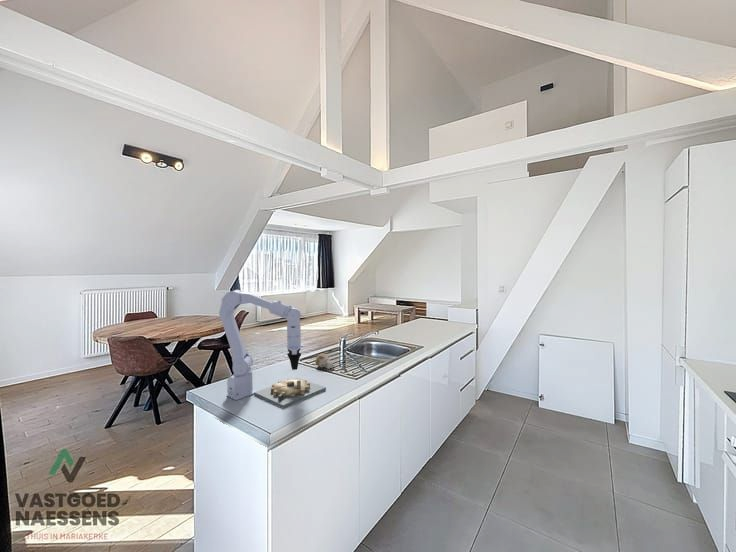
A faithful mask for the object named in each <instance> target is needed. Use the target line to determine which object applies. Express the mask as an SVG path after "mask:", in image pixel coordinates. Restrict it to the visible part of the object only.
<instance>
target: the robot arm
mask: <svg viewBox="0 0 736 552" xmlns="http://www.w3.org/2000/svg"><path fill="white" fill-rule="evenodd" d="M245 304H252V305H255V306H258V307H261V308H263V309H267V310H268V311H269V314H272V315H274V316H276V317H280V318H283V319H286V320H287V322H286V324H287V325H286V343H287V344H286V345H287V346H286V348H287V357H288V359H289V362H290V366H291V367H290V368H291V370H292V371H295V370H296V371H297V370H298V367H299V362H300V358H301V356H302V352H300V351H301V348H304V347H305V346H304V344H302V340H301V339H302V336H301V334H302V332H301V331H302V329H301V326H302V325H301V316H302V315H301V313H302V312H301V310H300V309H299V308H298V307H296V306H293V305H292V304H290V305H288V304H286V303H283V302H282V300H273V301H269V300H267V299H265V298H262V297H260V296H258V295H255V294H253V293H250V292H247V291H242V290H241V289H235V290H231V291H228V292H226V293H225V294H224V296H223V297H222V298H221V304H220V308H219V312H218V314H219V315H218V316H219V318H220V320H221V323H222V326H223V330H224V333H225V336H226V339H227V342H228V344H229V348H230V351H231V354H232V357H231V361H232V372H233V374H232V375H230V376H229V377H228V378H227V382H226V384H227V385H226V386H227V387H226V389H227V394H226V396H227V397H229V398H231V399H232V400H233V399H234V400H235V401H237V400H240V399H244V398H246V397H249V396H252V395H254V392H257V391H258V390H254V389H253V388H254V386H253V369H252V368H251V367H252V366H253V364H254V363H253V362H254V359H253V356H251V355H250V354H249V352H248V350H247V349H246V348H245V345H244V342H243V338H242V335H241V333H240V329H239V326H238V324H237V321H236V317H235V312H236V310H237V308H238V307H239V306H241V305H245Z"/></svg>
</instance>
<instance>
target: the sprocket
mask: <svg viewBox="0 0 736 552" xmlns="http://www.w3.org/2000/svg"><path fill="white" fill-rule="evenodd" d="M299 379H300V378H299ZM299 379H295V380H291V379H290V378H288V379H286V380H279V381H277V383H273V384H271V386H272V388H271V393H273V395H275V396H276V395H280V394H283V397H285V396H291V397H293V396H295V395H297V394H304V392H305V391H309V387H310V382H311V381H308V380H307V379H302V380H299ZM307 381H308V382H307Z"/></svg>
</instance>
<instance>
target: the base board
mask: <svg viewBox="0 0 736 552" xmlns="http://www.w3.org/2000/svg"><path fill="white" fill-rule="evenodd" d="M295 379H299V380H303V379H302V378H299V377H295V378H292V379H290V380H295ZM307 382H310V387H309V391H305V392H304V394H297V395H295V396H293V397H291V396H285V397H283V394H280V395H276V396H275V395H273V393H271V388H272V385H271V386H269V387H266V388H262V389H260V390H256V391H257V392H254V394H253V395H254V396H255V397H258V398H259V399H262V400H264V401H265V402H268V403H271V404H273V405H274V406H277V407H279V408H281V409H285V408H287V407H289V406H292V405H294V404H296V403H297V404H298V403H299V402H301V401H303V400H307V399H308V397H309V398H311V397H313V396H315V394H316V395H317V393H318V394H320V393H323V392H324V390H325V391H327V387H326V386H323V385H320V384H317V383H314V382H311V381H308V380H307ZM322 391H323V392H322ZM310 396H311V397H310Z"/></svg>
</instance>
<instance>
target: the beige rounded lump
mask: <svg viewBox="0 0 736 552" xmlns="http://www.w3.org/2000/svg"><path fill="white" fill-rule="evenodd" d="M314 363H315V364H316V366H317V367H319V368H323V367H325V368H326V369H327V370H331V369H333V367H335V368H336V366H335V365H334V363H333V362H332V361H331V360H330V357H329V356H328V355H327V354H325V353H320V354H318V355H317V357H316V358H315V362H314ZM330 368H331V369H330Z"/></svg>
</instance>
